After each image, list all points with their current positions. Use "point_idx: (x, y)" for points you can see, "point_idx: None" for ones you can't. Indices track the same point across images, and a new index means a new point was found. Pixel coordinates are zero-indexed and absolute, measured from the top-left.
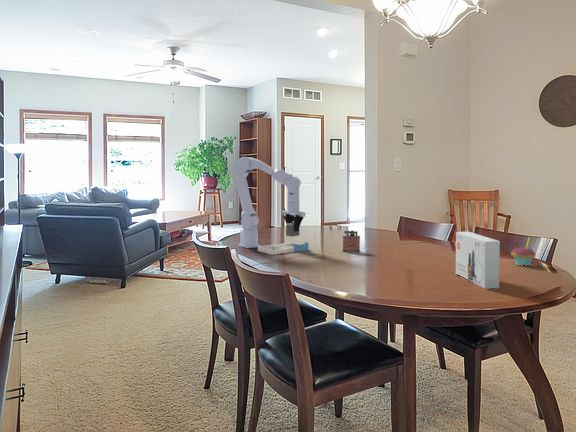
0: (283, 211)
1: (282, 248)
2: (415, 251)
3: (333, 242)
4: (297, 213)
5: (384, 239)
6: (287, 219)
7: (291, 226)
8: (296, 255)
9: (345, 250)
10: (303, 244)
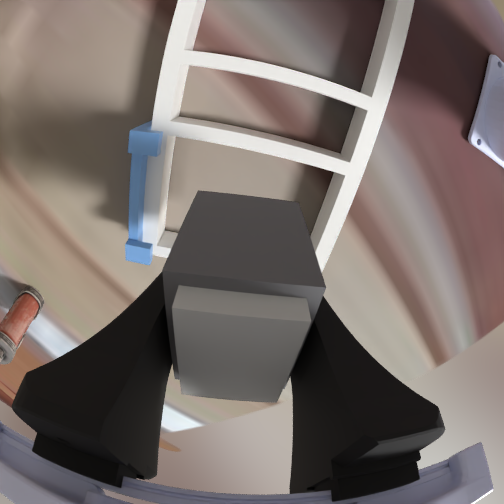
0: (465, 500)
1: (229, 56)
2: (6, 366)
3: (219, 403)
4: (7, 479)
5: (159, 444)
6: (335, 399)
7: (171, 261)
8: (71, 50)
9: (22, 292)
10: (129, 212)
